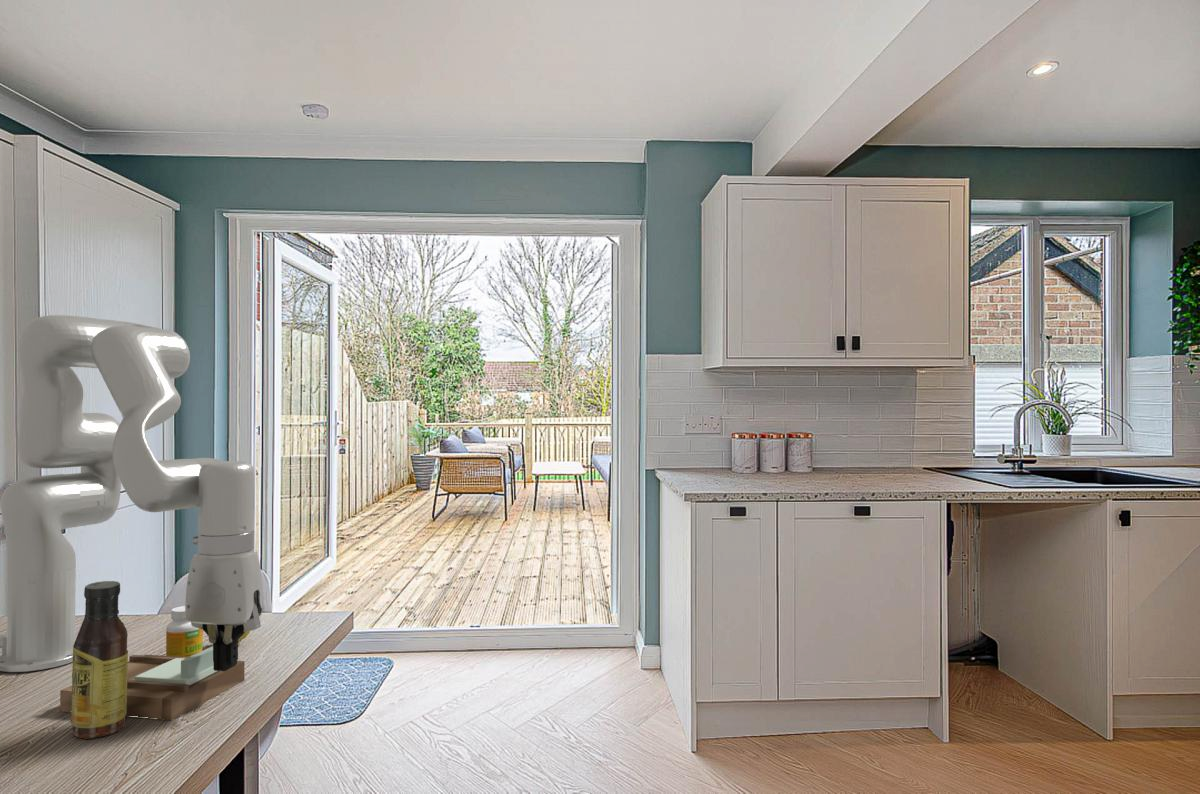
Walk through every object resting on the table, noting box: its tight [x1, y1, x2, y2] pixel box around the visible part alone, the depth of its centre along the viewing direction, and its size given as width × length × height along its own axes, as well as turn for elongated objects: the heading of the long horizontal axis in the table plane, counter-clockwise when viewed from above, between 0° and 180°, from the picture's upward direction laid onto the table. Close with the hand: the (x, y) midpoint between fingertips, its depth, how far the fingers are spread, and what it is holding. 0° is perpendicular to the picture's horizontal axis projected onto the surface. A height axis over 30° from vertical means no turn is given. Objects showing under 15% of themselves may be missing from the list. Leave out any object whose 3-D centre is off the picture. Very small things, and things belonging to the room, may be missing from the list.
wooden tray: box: [59, 654, 245, 721], centre depth 116 cm, size 18×16×4 cm
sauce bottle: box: [71, 580, 129, 740], centre depth 103 cm, size 6×6×20 cm
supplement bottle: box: [165, 605, 204, 657], centre depth 128 cm, size 5×5×10 cm
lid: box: [135, 645, 217, 685], centre depth 115 cm, size 8×8×4 cm
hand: (225, 667), depth 114 cm, fingers closed
